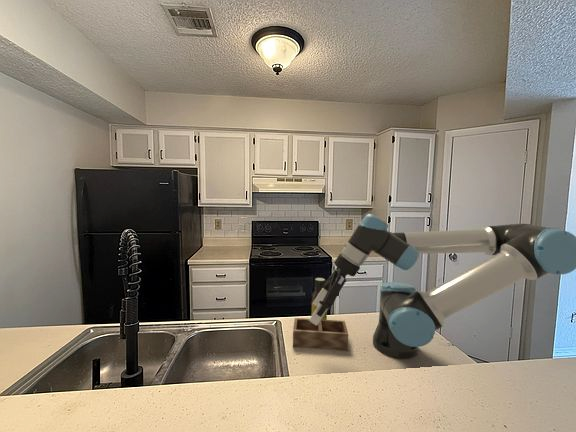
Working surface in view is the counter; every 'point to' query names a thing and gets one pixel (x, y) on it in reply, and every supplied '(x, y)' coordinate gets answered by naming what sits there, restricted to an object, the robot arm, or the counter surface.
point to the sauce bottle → (318, 287)
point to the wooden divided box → (320, 334)
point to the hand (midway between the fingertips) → (314, 313)
